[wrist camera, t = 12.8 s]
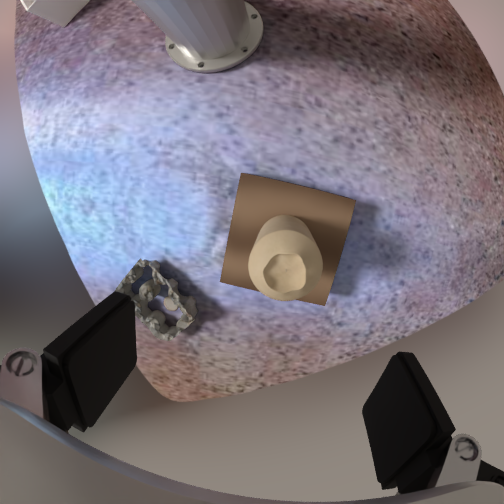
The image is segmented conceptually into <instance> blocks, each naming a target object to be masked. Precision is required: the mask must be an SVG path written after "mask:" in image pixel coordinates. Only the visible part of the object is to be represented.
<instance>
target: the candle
mask: <svg viewBox="0 0 504 504" xmlns="http://www.w3.org/2000/svg"><path fill="white" fill-rule="evenodd" d="M248 270H249V275H250V278H251V280H252V282H253V284H254V285H255V287H256V288H257V289H258V290H259V291H260V292H261V293H263V294H264V295H266V296H267V297H269V298H272V299H275V300H280V301H291V300H296V299H299V298H301V297H303V296H305V295H307V294H308V293H309V292H311V291H312V290H313V289H314V288H315V286H316V285H317V283H318V282H319V280H320V278H321V274H322V270H323V261H322V256H321V253H320V250H319V248H318V246H317V244H316V242H315V240H314V238H313V236H312V234H311V232H310V231H309V229H308V227H307V226H306V225H305V223H304V222H303V221H301V220H300V219H298V218H296V217H294V216H290V215H279V216H276V217H273V218H271V219H270V220H268V221H267V222H266V223H265V224H264V225H263V227H262V228H261V230H260V232H259V234H258V237H257V239H256V241H255V244H254V246H253V249H252V251H251V254H250V257H249V262H248Z"/></svg>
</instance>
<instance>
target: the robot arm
mask: <svg viewBox="0 0 504 504" xmlns="http://www.w3.org/2000/svg"><path fill="white" fill-rule="evenodd" d="M132 1H133V2H134V3H135V4H136V5H137V6H138V7H139V8H140V9H141V10H142V11H143V12H144V13H145V14H146V15H147V16H148V17H149V18H150V19H151V20H152V21H153V22H154V23H155V24H156V25H157V26H158V27H159V28H160V29H161V30H162V31H163V32H164V33H165V34H166V39H165V45H166V50H167V52H168V54H169V56H170V57H171V59H172V60H173V61H174V62H175V63H177V64H178V65H179V66H180V67H182V68H184V69H186V70H189V71H193V72H199V73H212V72H218V71H223V70H226V69H229V68H231V67H234V66H236V65H238V64H240V63H241V62H243V61H244V60H246V59H247V58H248V57H249V56H250V55H251V54H252V53H253V52H254V51H255V50H256V49H257V47H258V46H259V44H260V42H261V40H262V37H263V31H264V28H263V22H262V18H261V16H260V14H259V12H258V11H257V10H256V9H255V8H254V7H253V6H252V5H251V4H249V3H247V2H245V1H244V0H132ZM244 51H247V52H244ZM202 66H204V67H202ZM201 67H202V68H201ZM43 351H44V353H43V354H42V355H41V356H39V354H38V353H37V352H35V351H34V350H32V349H29V348H17V349H14V350H12V351H10V352H9V353H7V354H6V356H5V357H4V358H3V361H2V365H0V504H504V472H503V471H501V470H500V469H497V468H496V467H494V466H491V465H490V464H488V463H486V462H484V461H482V460H481V448H480V445H479V443H478V442H477V441H476V440H475V438H473V437H471V436H470V435H467V434H458V435H456V436H455V437H454V438H453V439H452V437H451V435H452V433H453V432H454V431H455V430H456V429H455V427H454V425H453V423H452V421H451V419H450V417H449V415H448V414H447V411H446V410H445V408H444V406H443V404H442V402H441V400H440V399H439V396H438V395H437V393H436V391H435V389H434V388H433V386H432V384H431V382H430V380H429V379H428V377H427V375H426V374H425V372H424V370H423V369H422V367H421V365H420V363H419V362H418V360H417V358H416V357H415V355H414V354H413V353H409V352H398V353H397V354H396V355H393V356H392V358H391V359H390V361H389V363H388V365H387V367H386V369H385V370H384V372H383V374H382V376H381V377H380V379H379V381H378V383H377V385H376V386H375V388H374V389H373V391H372V393H371V394H370V396H369V398H368V399H367V401H366V403H365V404H364V406H363V410H362V414H363V418H364V422H365V426H366V430H367V434H368V439H369V443H370V447H371V452H372V457H373V461H374V466H375V471H376V476H377V480H378V482H379V483H381V486H382V490H384V489H392V488H395V487H398V492H397V494H396V495H395V496H389V497H383V498H376V499H367V500H356V501H341V502H293V501H279V500H268V499H260V498H252V497H245V496H239V495H233V494H227V493H222V492H218V491H213V490H209V489H204V488H200V487H196V486H192V485H188V484H185V483H182V482H178V481H175V480H171V479H168V478H165V477H162V476H159V475H156V474H154V473H151V472H148V471H145V470H143V469H140V468H138V467H135V466H133V465H130V464H128V463H126V462H123V461H121V460H119V459H117V458H114V457H112V456H110V455H108V454H106V453H104V452H102V451H100V450H98V449H96V448H94V447H92V446H90V445H88V444H86V443H84V442H82V441H80V440H78V439H77V438H75V437H73V436H71V435H70V434H69V432H68V430H69V429H70V428H71V426H73V427H75V428H77V429H78V430H80V431H82V432H85V430H86V429H87V427H92V426H93V425H94V424H95V423H96V421H97V419H98V418H99V417H100V415H101V414H102V412H103V411H104V410H105V408H106V407H107V405H108V404H109V402H110V401H111V400H112V398H113V397H114V395H115V394H116V393H117V391H118V390H119V388H120V387H121V385H122V384H123V383H124V381H125V380H126V378H127V377H128V375H129V374H130V373H131V371H132V370H133V369H134V367H135V365H136V362H137V352H136V330H135V302H134V301H132V299H131V297H130V296H129V295H126V294H123V293H120V292H117V291H115V292H113V293H112V294H111V295H109V296H108V297H107V298H105V299H104V300H103V301H102V302H100V303H99V304H98V305H97V306H95V307H94V308H93V309H91V310H90V311H89V312H88V313H87V314H85V315H84V316H83V317H82V318H80V319H79V320H78V321H77V322H75V323H74V324H73V325H72V326H70V327H69V328H68V329H67V330H66V331H64V332H63V333H62V334H61V335H60V336H58V337H57V338H56V339H55V340H54V341H53V342H51V343H50V344H49V345H48V346H47V347H46V348H44V349H43Z"/></svg>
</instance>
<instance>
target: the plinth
mask: <svg viewBox="0 0 504 504" xmlns="http://www.w3.org/2000/svg"><path fill="white" fill-rule="evenodd" d="M355 202H356V200H353V199H350V198H347V197H343V196H339V195H336V194H332V193H328V192H324V191H321V190H317V189H313V188H309V187H305V186H301V185H297V184H292V183H288V182H284V181H279V180H275V179H270V178H266V177H261V176H256V175H251V174H246V173H241V176H240V180H239V185H238V190H237V195H236V200H235V205H234V210H233V215H232V220H231V225H230V231H229V236H228V241H227V247H226V252H225V257H224V263H223V268H222V274H221V279H220V282H222V283H226V284H230V285H234V286H238V287H242V288H247V289H251V290H255V291H259V290H258V289H257V288H256V287H255V285H254V284H253V282H252V280H251V278H250V275H249V270H248V262H249V257H250V254H251V251H252V249H253V246H254V244H255V241H256V239H257V237H258V234H259V232H260V230H261V228H262V227H263V225H264V224H265V223H266V222H267V221H268V220H270V219H271V218H273V217H276V216H279V215H290V216H294V217H296V218H298V219H300V220H301V221H303V222H304V223H305V225H306V226H307V227H308V229H309V231H310V232H311V234H312V236H313V238H314V240H315V242H316V244H317V246H318V248H319V250H320V253H321V256H322V261H323V270H322V274H321V278H320V280H319V282H318V283H317V285H316V286H315V288H314V289H313V290H312V291H311V292H309V293H308V294H307V295H305V296H303V297H301V298H299V299H296V300H299V301H304V302H309V303H313V304H318V305H323V306H325V304H326V301H327V298H328V295H329V292H330V289H331V286H332V283H333V280H334V277H335V274H336V271H337V267H338V264H339V261H340V257H341V254H342V251H343V247H344V244H345V240H346V237H347V233H348V229H349V226H350V222H351V218H352V214H353V210H354V206H355ZM259 292H260V291H259Z"/></svg>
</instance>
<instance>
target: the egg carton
mask: <svg viewBox="0 0 504 504" xmlns="http://www.w3.org/2000/svg"><path fill="white" fill-rule="evenodd" d="M148 265H149V266H150V267H151V268H152V269H153V270H152V273H153V274H152V277H153V279H150V280H148V281H147V282H145V283H144V284H143V285H142V286H141V287H140V288H139V294H136V295H135V294H134V293H133V292H132V291H131V289H132V284H131V283H134V282H135V281H136V280H138V279H139V278H140V277H141V276H142V275H143V273H144V269H143V267H146V266H148ZM159 268H160V264H159V263H158V262H157V261H155V260H154V261H152V262H149V261H147V260H143V261H142V259H140V260H139V261H138V262H137V263H136V264H135V266H134V267H133V268H132V269H131V270H130V272H129V273H128V274H127V275H126V276H125V278H124V279H123V280H122V281H121V283H120V284H119V285H118V287H117V288H116V290H115V291H117V292H120V293H123V294H126V295H129V296H130V297H131V299H132V301H134V302H135V316H137V317H138V318H139V319H140V320H141V322H142V323H144V324H145V325H146V326H147V327H148V328H149V330H150V331H151V332H152V334H153V335H154V336H155V337H157V338H158V339H161V340H166V341H171V340H172V339H173V338H174V337H176V336H177V335H178V334H179V333H180V332H182V331H183V330H184V329H186V328H187V327H188V326H189V325H190V324H191V323H192V322H193V321H194V320H195V319H194V317H195V315H196V314H197V312H198V311H197V309H196V306H195V303H196V300H195V298H194V297H192V296H187V297H185V296H183V295H181V294H180V293H179V292H178V289H177V285H178V282H177V281H175V280H174V279H173V278H171V279H165V278H163V277H162V276H161V274H160V271H159ZM165 284H168V286H169V291H168V296H167V297H166V298H165V299H164V306H165V307H166V309H168V310H170V311H175V310H177V309H178V306H179V307H180V310H181V311H182V313H183V315H182V316H181V318H180V319H179V320H178V322H177V325H176V326H171V327H168V326H167V325H166V324H165V323H164V322H165V320H166V318H165V315H164V314H163V313H162V312H161V311H159V310H154V311H151V310H150V309H149V308H148V307H147V306H148V302H150V301H152V300H153V299H154V298H155V297H156V296H157V295H158V294H159V292H160V290H161V286H160V285H165ZM115 291H114V292H115Z"/></svg>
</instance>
